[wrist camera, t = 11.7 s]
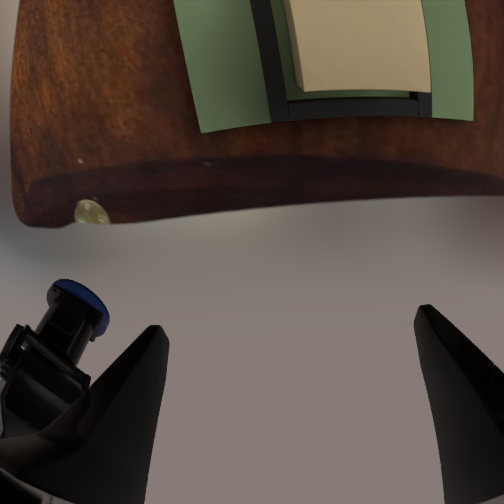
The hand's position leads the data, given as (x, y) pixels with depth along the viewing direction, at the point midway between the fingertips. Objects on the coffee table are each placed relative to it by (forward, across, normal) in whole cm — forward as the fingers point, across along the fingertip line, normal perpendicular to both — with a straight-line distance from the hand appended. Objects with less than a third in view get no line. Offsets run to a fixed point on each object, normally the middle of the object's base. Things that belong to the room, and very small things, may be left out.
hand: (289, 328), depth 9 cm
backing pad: (+12, -5, -9) cm, 16 cm away
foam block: (+11, -4, -9) cm, 15 cm away
